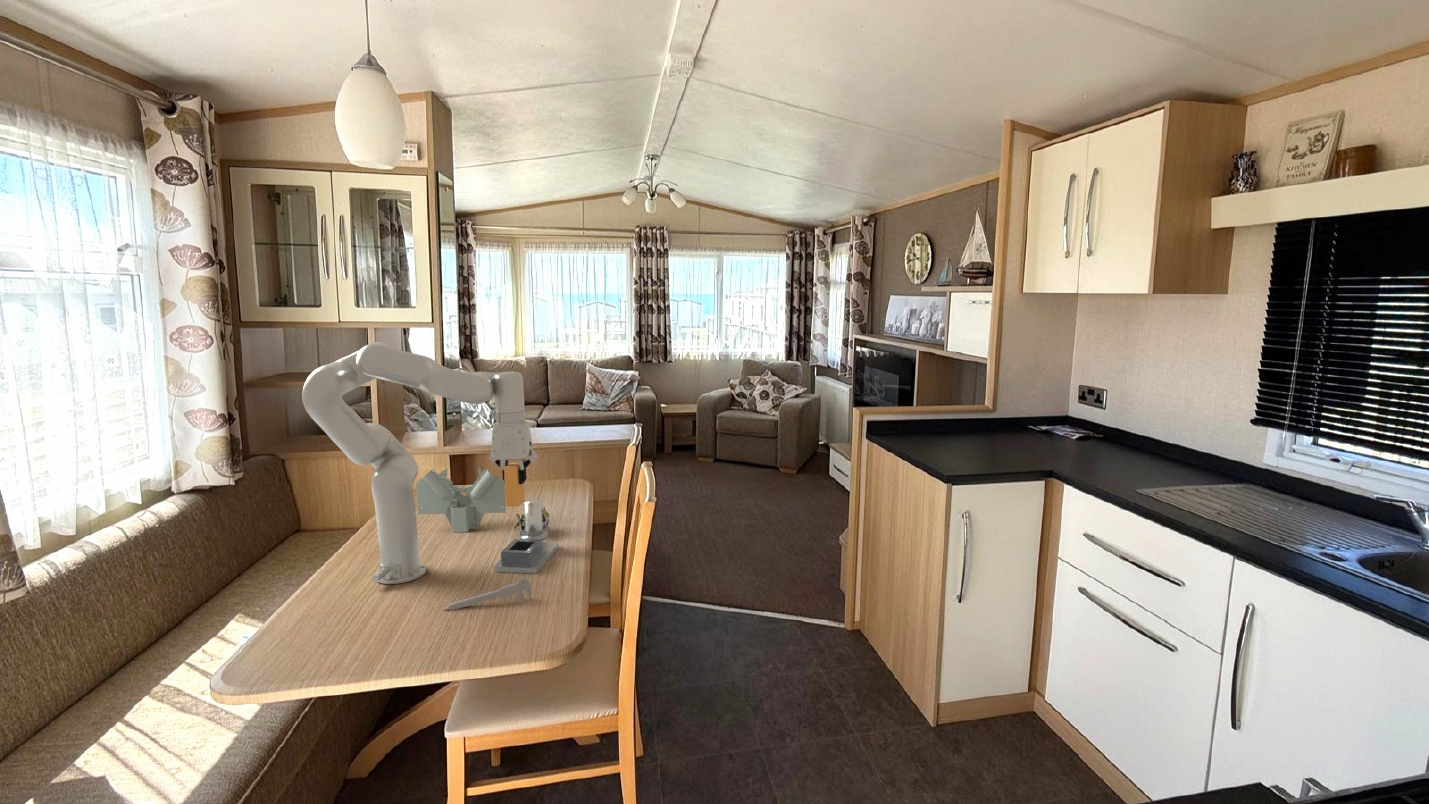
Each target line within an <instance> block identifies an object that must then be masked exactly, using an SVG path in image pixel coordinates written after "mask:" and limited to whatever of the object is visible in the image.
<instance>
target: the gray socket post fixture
mask: <svg viewBox="0 0 1429 804" xmlns="http://www.w3.org/2000/svg"><path fill="white" fill-rule="evenodd" d="M523 505H524V506H523V507H524V515H525V529H524V530H525V531H524V530H523V531H522V532H521V534H520V533H519V538H518V539H517V538H514V539H513V540H512V541H511V542H510V543H509V544H508V545H506V546H505V548H503V549H502V550H501V551H500V560H499V561H497V562H496V564H494V565H493V573H511V574H512V573H513V574H536V575H537V573H539V571H540V570H541V569H542V568H543V567H544V566H545V564H546V563H548V561H549V560H550V558H552V556H553V555H554V554H555V553H556V552H557V550H559V549H560V542H559V541H558V542H557V541H556V542H555V541H554V542H553V541H544V540H547V539H548V538H549V531H548V530H547V529H546V530H543V529H542V509H543V507H542V499H540V498H537V497H535V498H534V497H533V498H532V497H531V498H527V499H525V502H524V503H523ZM554 552H555V553H554ZM547 560H548V561H547Z"/></svg>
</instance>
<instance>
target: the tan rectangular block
mask: <svg viewBox="0 0 1429 804" xmlns="http://www.w3.org/2000/svg"><path fill="white" fill-rule="evenodd" d="M519 470H520V467H519V462H510V463H508V465H506V466H504V480H505V484H504V486H505V505H506V507H516V508H517V507H520V506H521V505H522V504H524V502H525V500H526V499H525V497H526V496H525V482H524V483H523V484H519V475H518V471H519ZM504 480H503V481H504Z"/></svg>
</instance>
